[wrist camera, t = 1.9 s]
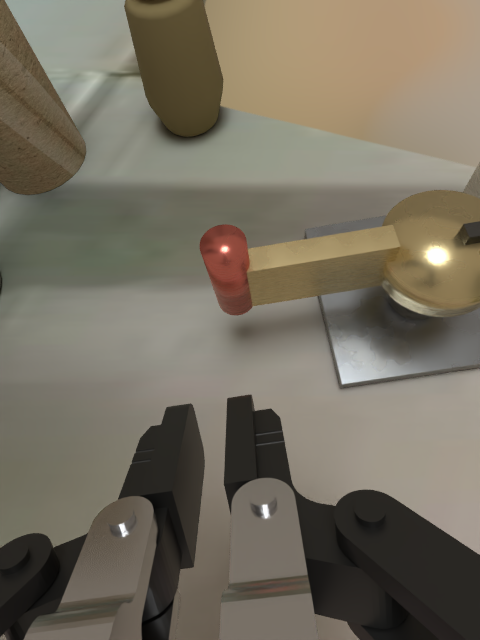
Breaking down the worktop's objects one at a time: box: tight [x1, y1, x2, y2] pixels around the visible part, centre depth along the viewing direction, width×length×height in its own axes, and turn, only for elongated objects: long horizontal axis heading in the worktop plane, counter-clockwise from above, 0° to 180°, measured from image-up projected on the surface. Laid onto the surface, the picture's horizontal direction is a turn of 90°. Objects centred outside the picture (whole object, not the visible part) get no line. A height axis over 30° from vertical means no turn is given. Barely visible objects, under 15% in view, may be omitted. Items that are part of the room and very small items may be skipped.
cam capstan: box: [200, 190, 480, 317], centre depth 24 cm, size 19×8×6 cm, turn 97°
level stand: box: [305, 163, 480, 388], centre depth 29 cm, size 15×14×8 cm
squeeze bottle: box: [124, 0, 223, 137], centre depth 36 cm, size 8×8×18 cm
